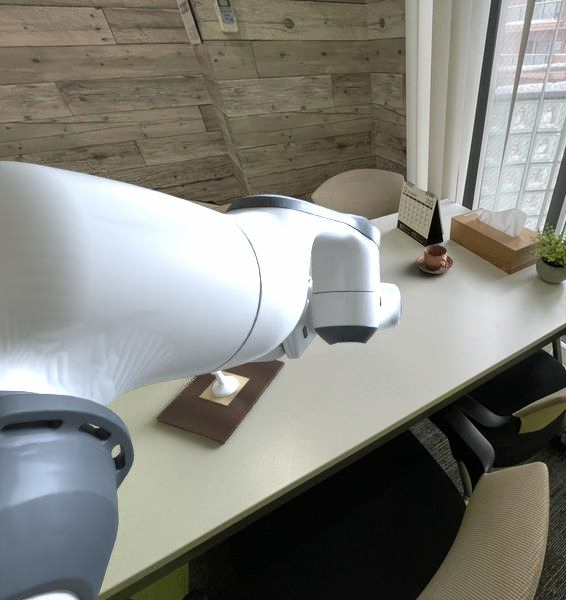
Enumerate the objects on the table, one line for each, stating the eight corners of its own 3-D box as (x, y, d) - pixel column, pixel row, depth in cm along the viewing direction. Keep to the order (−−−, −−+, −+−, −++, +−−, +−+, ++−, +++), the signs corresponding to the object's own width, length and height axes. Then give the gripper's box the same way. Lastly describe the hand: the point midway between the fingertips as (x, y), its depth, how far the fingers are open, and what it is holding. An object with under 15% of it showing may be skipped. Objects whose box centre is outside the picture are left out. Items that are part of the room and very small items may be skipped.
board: (224, 444, 60) (222, 441, 60) (157, 420, 64) (155, 418, 63) (285, 364, 75) (284, 361, 74) (227, 348, 79) (226, 346, 78)
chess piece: (232, 374, 72) (216, 342, 65) (241, 387, 69) (226, 355, 63) (209, 387, 69) (190, 355, 63) (218, 401, 66) (199, 369, 60)
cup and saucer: (459, 265, 108) (461, 249, 104) (439, 281, 101) (441, 264, 97) (429, 253, 114) (430, 237, 110) (409, 268, 107) (409, 251, 103)
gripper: (311, 260, 61) (236, 262, 60) (287, 337, 45) (184, 340, 44) (316, 287, 65) (246, 289, 64) (296, 367, 49) (202, 370, 48)
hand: (220, 311), depth 54 cm, fingers open, 8 cm apart
